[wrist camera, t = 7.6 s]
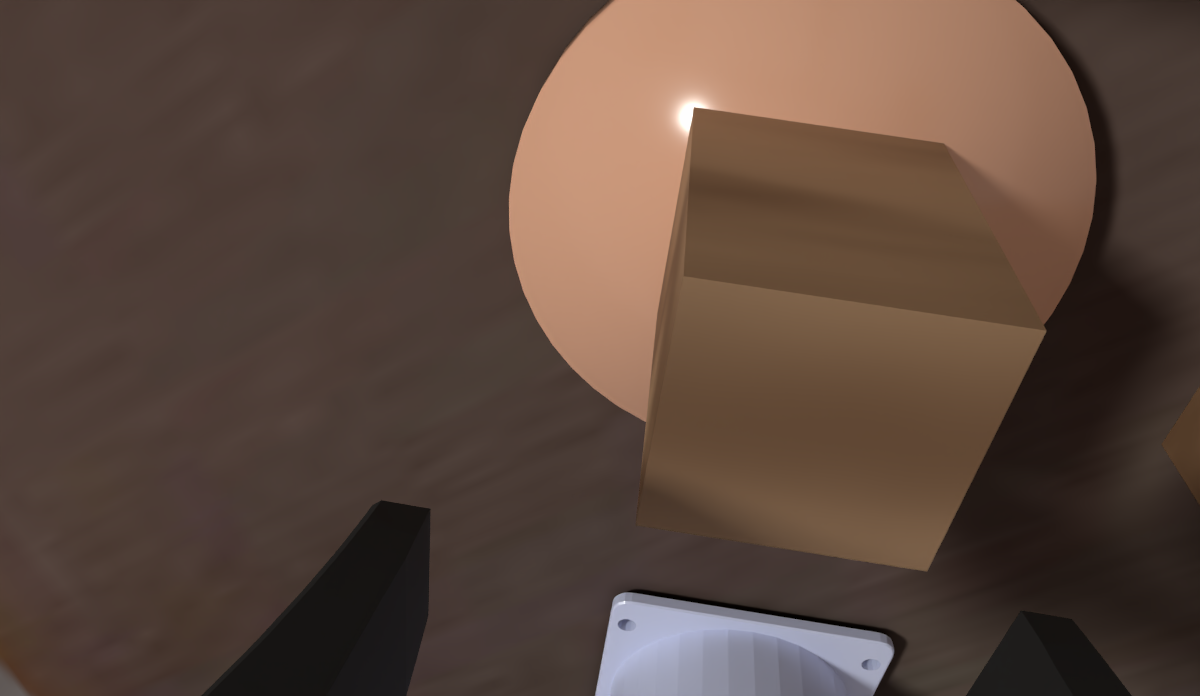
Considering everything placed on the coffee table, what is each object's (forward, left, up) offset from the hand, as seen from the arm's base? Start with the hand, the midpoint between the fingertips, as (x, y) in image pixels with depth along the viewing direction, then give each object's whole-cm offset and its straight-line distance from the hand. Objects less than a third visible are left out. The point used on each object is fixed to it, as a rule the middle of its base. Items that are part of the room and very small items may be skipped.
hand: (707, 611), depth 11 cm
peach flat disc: (+1, -1, -9) cm, 10 cm away
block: (+1, -1, -8) cm, 9 cm away
